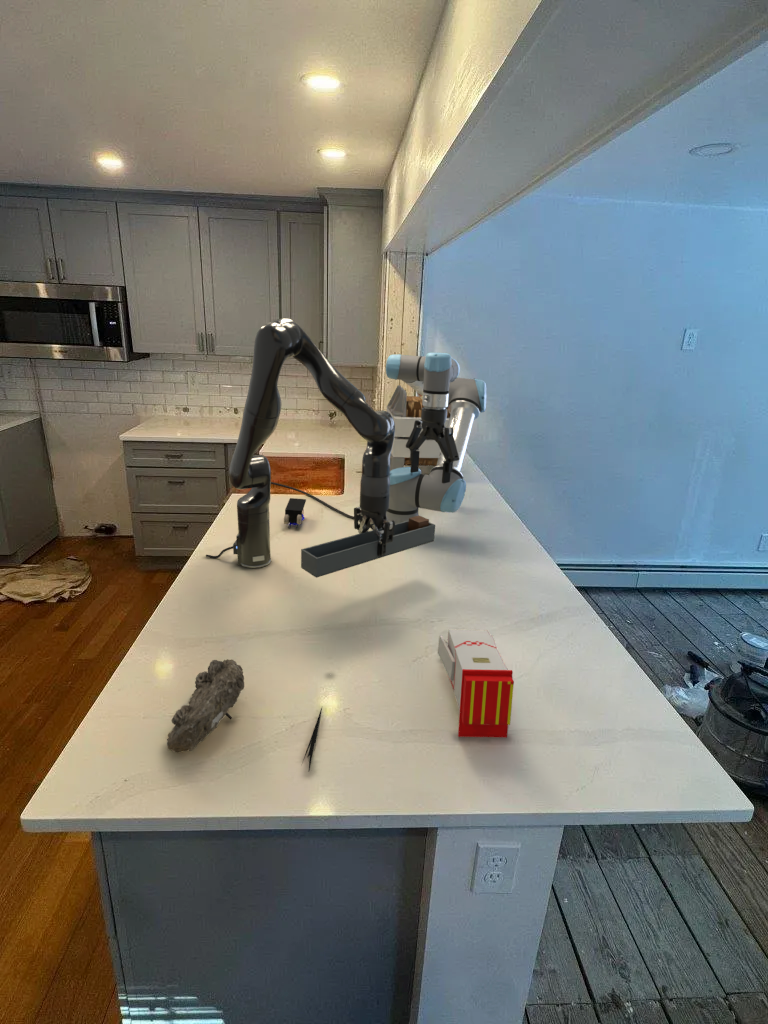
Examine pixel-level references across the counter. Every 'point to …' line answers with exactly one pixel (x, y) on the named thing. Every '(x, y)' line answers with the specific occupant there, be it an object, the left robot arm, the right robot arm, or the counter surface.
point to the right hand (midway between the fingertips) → (429, 477)
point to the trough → (360, 549)
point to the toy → (478, 682)
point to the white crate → (409, 431)
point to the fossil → (206, 705)
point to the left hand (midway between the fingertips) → (372, 550)
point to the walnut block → (417, 523)
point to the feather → (313, 740)
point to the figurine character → (294, 512)
